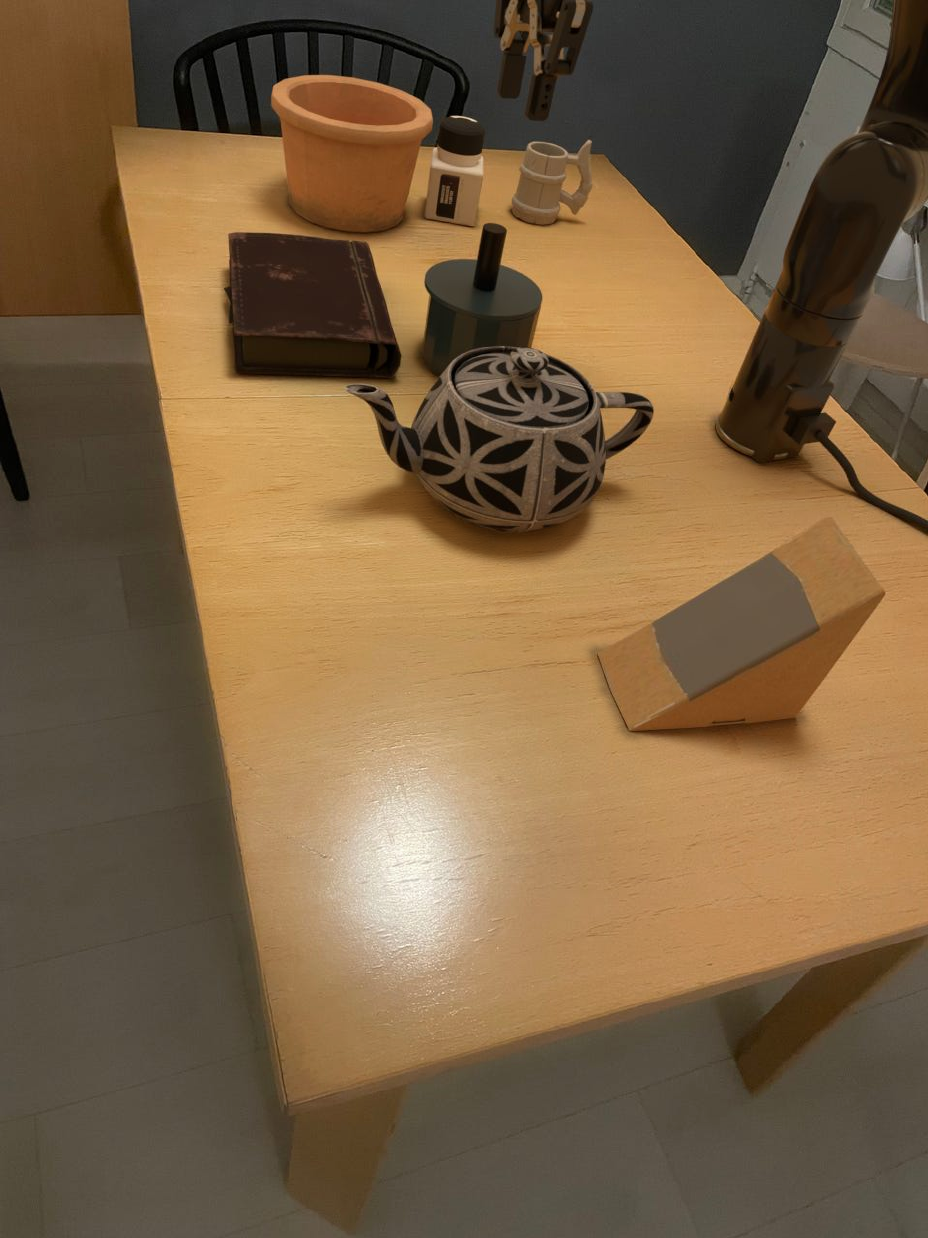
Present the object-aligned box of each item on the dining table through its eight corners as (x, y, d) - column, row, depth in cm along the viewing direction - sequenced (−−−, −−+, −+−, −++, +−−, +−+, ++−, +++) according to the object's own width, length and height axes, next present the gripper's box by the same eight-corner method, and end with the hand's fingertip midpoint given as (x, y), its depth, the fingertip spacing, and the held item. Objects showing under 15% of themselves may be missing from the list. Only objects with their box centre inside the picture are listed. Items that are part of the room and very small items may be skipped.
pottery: (238, 198, 125) (236, 86, 115) (339, 168, 139) (345, 66, 129) (355, 255, 119) (363, 141, 109) (448, 217, 133) (463, 114, 123)
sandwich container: (594, 651, 74) (649, 513, 63) (753, 642, 78) (830, 512, 67) (627, 733, 68) (694, 597, 58) (797, 719, 72) (889, 590, 62)
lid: (560, 322, 98) (578, 254, 92) (452, 329, 92) (463, 258, 87) (508, 266, 106) (522, 201, 100) (405, 270, 100) (413, 201, 95)
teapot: (318, 438, 89) (326, 297, 78) (592, 430, 98) (631, 303, 87) (355, 566, 76) (370, 420, 66) (663, 543, 86) (720, 412, 75)
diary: (369, 277, 115) (373, 239, 112) (399, 380, 99) (404, 339, 95) (222, 268, 110) (221, 227, 107) (227, 375, 94) (226, 331, 90)
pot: (542, 384, 103) (559, 317, 97) (447, 394, 98) (458, 324, 92) (497, 331, 110) (510, 266, 104) (406, 338, 105) (414, 269, 99)
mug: (508, 202, 141) (523, 120, 133) (579, 213, 143) (599, 133, 134) (511, 221, 136) (528, 138, 127) (585, 232, 138) (606, 151, 129)
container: (474, 227, 132) (490, 134, 123) (423, 218, 131) (435, 124, 122) (475, 207, 137) (490, 117, 128) (426, 199, 137) (438, 107, 127)
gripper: (645, -91, 70) (590, 136, 82) (560, -127, 79) (521, 84, 91) (565, -103, 67) (520, 134, 79) (486, -139, 76) (456, 81, 88)
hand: (521, 106), depth 85 cm, fingers open, 5 cm apart
